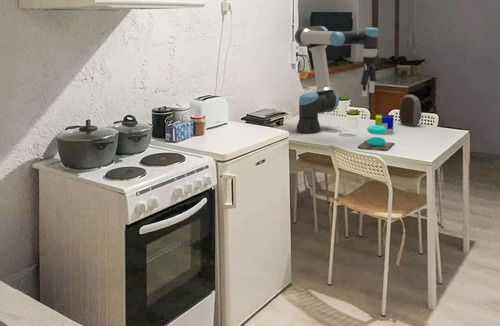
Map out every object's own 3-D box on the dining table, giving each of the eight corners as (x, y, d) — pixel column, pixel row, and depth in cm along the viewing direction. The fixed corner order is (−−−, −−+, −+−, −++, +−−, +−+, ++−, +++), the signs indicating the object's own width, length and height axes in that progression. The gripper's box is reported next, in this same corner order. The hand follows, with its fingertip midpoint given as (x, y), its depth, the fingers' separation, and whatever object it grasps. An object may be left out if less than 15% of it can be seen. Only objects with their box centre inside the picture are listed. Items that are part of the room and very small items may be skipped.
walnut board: (357, 148, 285) (357, 146, 285) (365, 142, 298) (365, 140, 298) (387, 151, 278) (387, 149, 277) (394, 144, 291) (394, 142, 291)
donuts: (387, 125, 288) (384, 129, 279) (386, 143, 290) (383, 147, 281) (369, 124, 292) (365, 127, 283) (368, 142, 294) (365, 146, 285)
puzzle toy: (392, 134, 316) (393, 118, 313) (375, 134, 318) (376, 117, 315) (391, 130, 326) (392, 114, 323) (375, 130, 328) (375, 114, 325)
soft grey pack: (396, 124, 345) (397, 93, 339) (404, 122, 349) (406, 92, 344) (415, 127, 333) (417, 96, 327) (423, 125, 338) (425, 94, 332)
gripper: (370, 58, 281) (368, 98, 287) (382, 54, 302) (380, 91, 308) (356, 58, 284) (354, 97, 290) (369, 54, 305) (368, 90, 311)
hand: (368, 94), depth 299 cm, fingers open, 13 cm apart
